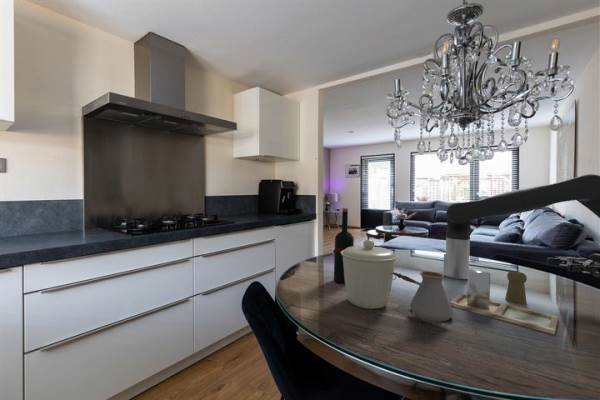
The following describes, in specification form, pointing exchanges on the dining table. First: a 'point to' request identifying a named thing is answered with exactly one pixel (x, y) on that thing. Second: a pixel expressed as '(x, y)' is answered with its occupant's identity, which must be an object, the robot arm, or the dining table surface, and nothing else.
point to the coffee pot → (430, 298)
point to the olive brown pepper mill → (516, 288)
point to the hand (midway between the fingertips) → (557, 264)
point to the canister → (368, 274)
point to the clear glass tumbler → (478, 289)
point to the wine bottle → (341, 248)
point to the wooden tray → (512, 314)
